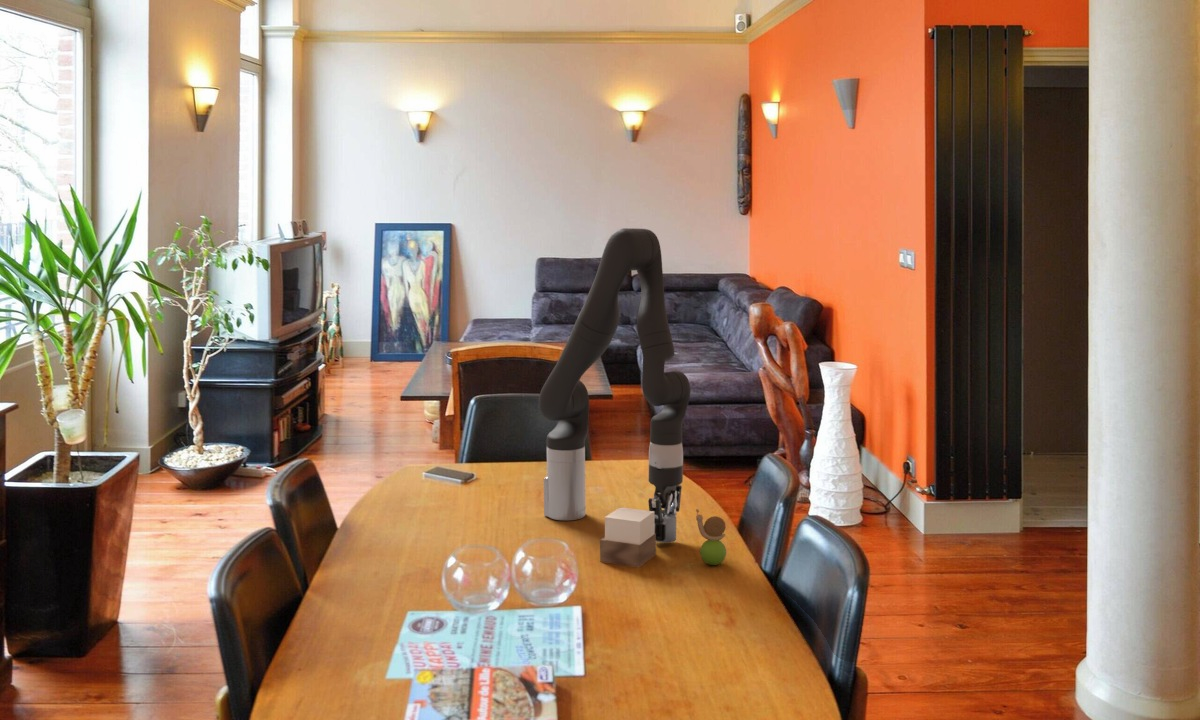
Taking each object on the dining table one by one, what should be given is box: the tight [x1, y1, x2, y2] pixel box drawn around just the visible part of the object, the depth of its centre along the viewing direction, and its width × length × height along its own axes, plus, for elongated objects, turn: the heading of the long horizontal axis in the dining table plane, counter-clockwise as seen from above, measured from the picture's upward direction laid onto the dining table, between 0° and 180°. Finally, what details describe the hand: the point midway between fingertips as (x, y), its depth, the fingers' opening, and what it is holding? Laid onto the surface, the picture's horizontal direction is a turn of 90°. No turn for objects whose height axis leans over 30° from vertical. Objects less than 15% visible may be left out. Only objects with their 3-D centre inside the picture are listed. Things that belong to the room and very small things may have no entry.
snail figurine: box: [695, 508, 727, 566], centre depth 223 cm, size 5×6×12 cm
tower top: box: [604, 507, 654, 545], centre depth 227 cm, size 8×8×5 cm
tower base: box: [599, 533, 657, 569], centre depth 228 cm, size 9×9×5 cm
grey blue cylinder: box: [654, 514, 677, 544], centre depth 237 cm, size 5×5×5 cm
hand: (664, 536), depth 237 cm, fingers closed on grey blue cylinder, 5 cm apart
